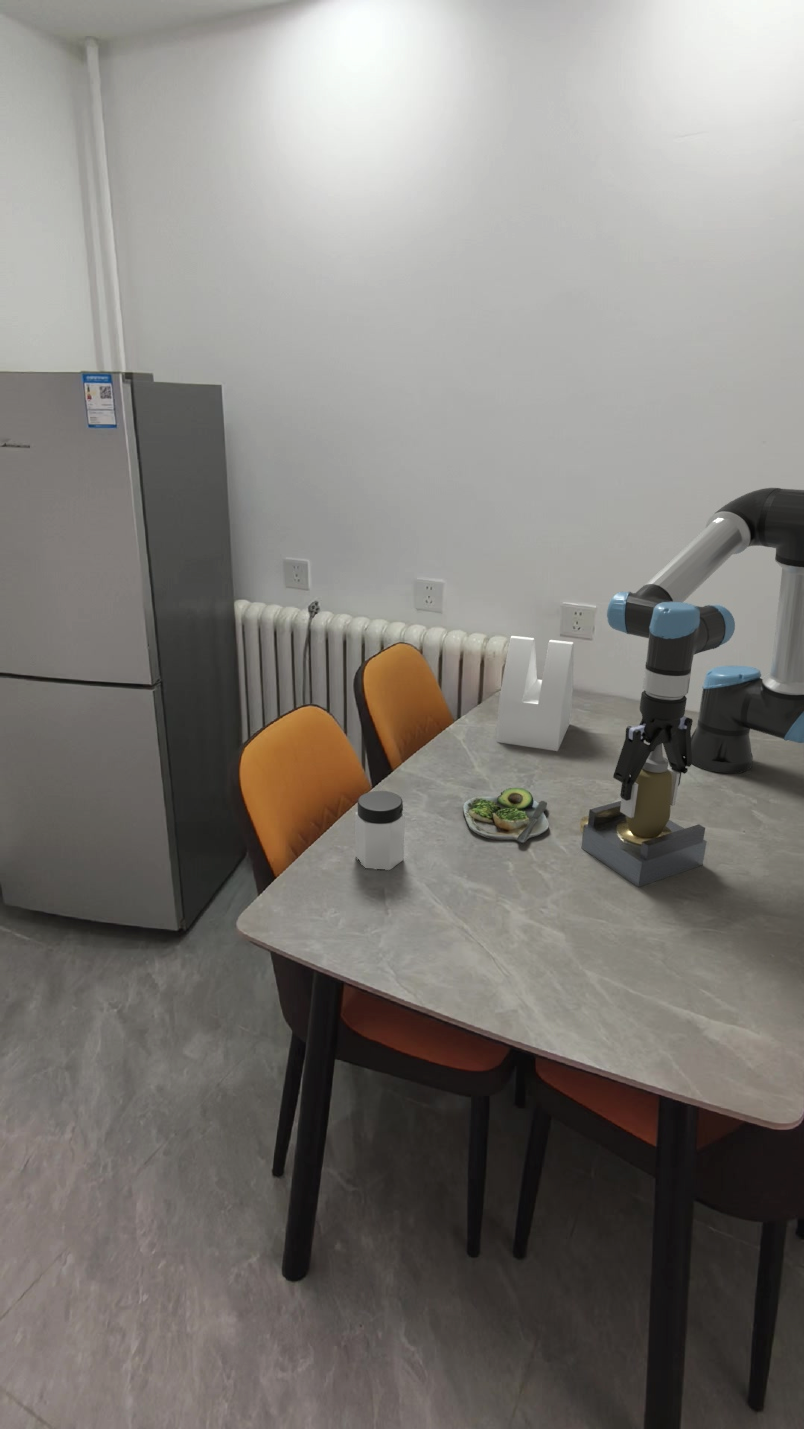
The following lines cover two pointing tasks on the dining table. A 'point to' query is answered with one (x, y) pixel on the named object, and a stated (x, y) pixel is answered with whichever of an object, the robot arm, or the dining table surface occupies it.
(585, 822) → the brass dome knob
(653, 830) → the squeeze bottle
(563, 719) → the white notched stand
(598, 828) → the grey rimmed block
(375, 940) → the dining table surface
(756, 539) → the robot arm
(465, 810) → the avocado toast plate
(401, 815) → the jar
